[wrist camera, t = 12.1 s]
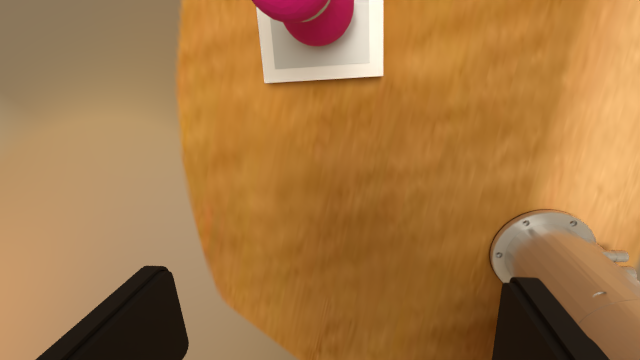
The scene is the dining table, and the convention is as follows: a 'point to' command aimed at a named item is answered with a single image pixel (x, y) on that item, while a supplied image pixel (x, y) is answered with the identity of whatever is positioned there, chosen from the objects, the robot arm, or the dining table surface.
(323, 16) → the pepper mill
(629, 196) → the dining table surface
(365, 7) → the stand
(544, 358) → the robot arm
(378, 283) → the dining table surface
